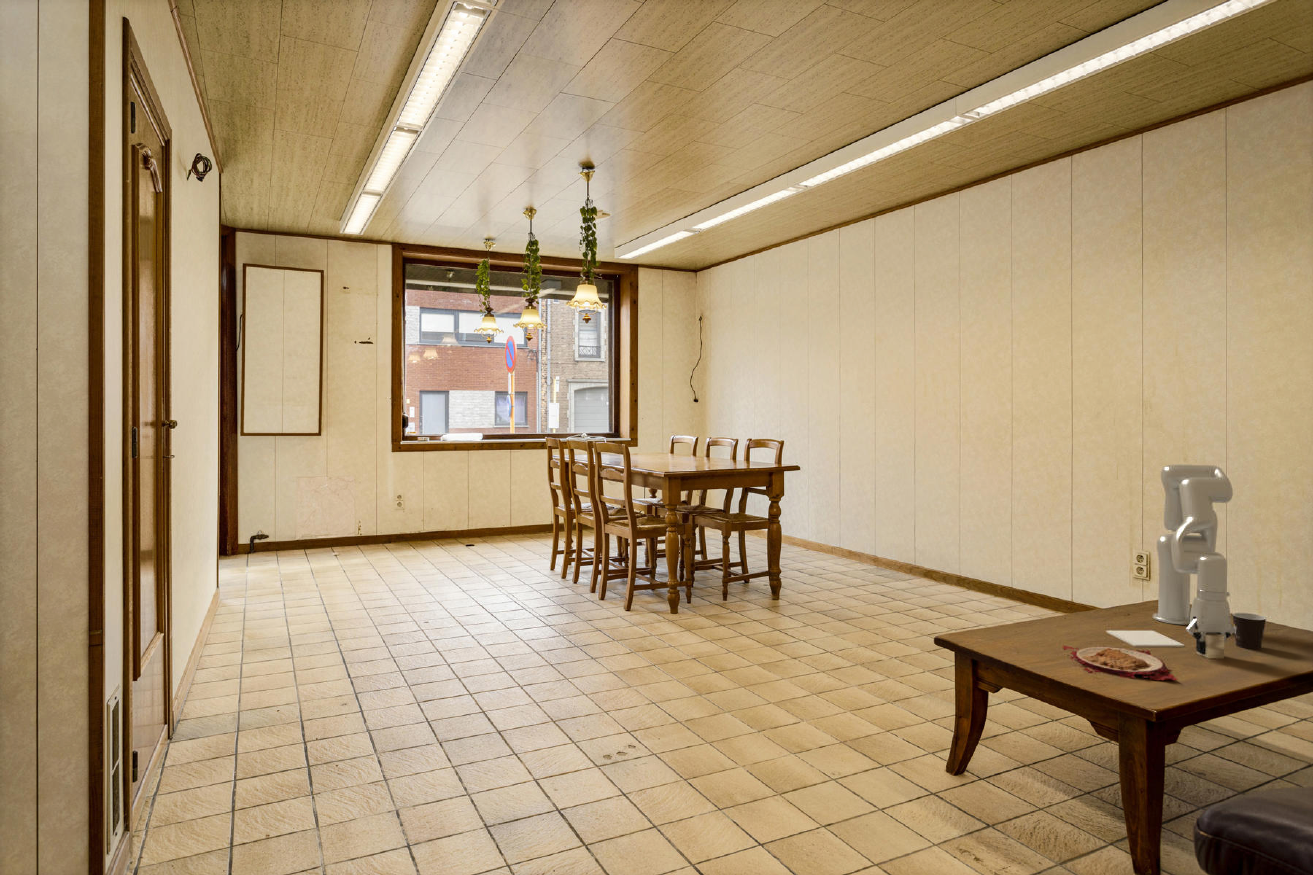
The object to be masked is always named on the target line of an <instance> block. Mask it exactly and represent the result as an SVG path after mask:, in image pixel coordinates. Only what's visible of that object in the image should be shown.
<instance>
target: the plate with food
mask: <svg viewBox="0 0 1313 875" xmlns="http://www.w3.org/2000/svg"><path fill="white" fill-rule="evenodd" d="M1062 648H1063V650H1064V651H1067V650H1071V652H1070V654H1072V656H1070V655H1069V654H1067V656H1068V657H1070V658H1071V659H1070V660H1074V658H1076V659H1075V660H1074V661H1077V662H1078V663H1079V665H1078V666H1079V667H1080V668H1083V669H1084V670H1083V671H1085V670H1086V671H1085V672H1088V673H1087V674H1094V675H1095V674H1096V675H1097V672H1101V673H1103V674H1107V675H1108V674H1110V675H1111V674H1112V675H1118V677H1121V678H1127V679H1137V677H1135V675H1142V677H1141V678H1144V679H1145V678H1149V679H1150V680H1151V681H1152V680H1153V681H1168V680H1170V681H1176V680H1178V677H1174V675H1173V674H1172V673H1171V672H1173V670H1172V669H1169V668H1167V666H1166V664H1165V663H1164V661H1163V660H1162V659H1160V658H1158V657H1157V656H1156V655H1152V654H1151V651H1150V650H1146V651H1145V650H1139V649H1136V650H1133V649H1129V648H1123V647H1122V648H1121V647H1111V646H1110V647H1109V646H1106V645H1105V646H1104V645H1103V646H1091V647H1086V648H1085V647H1084V648H1081V649H1079V648H1078V647H1072V646H1067V645H1063V646H1062ZM1080 664H1081V665H1083V664H1084V665H1083V666H1081V665H1080ZM1076 666H1077V665H1076V664H1075V665H1074V667H1076ZM1086 666H1087V667H1086ZM1088 667H1089V668H1088ZM1095 669H1096V670H1095ZM1093 670H1094V671H1093ZM1093 672H1094V673H1093ZM1106 672H1107V673H1106Z"/></svg>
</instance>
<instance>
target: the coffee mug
mask: <svg viewBox="0 0 1313 875" xmlns="http://www.w3.org/2000/svg"><path fill="white" fill-rule="evenodd" d="M1232 620H1233V627H1234V628H1235V630H1236V631H1235V632H1234V637H1235V646H1236V647H1239V648H1241V649H1246V650H1251V651H1252V650H1253V651H1254V650H1255V651H1256V650H1257V651H1258V650H1261V649H1262V644H1263V638H1264V633H1265V629H1266V628H1265V627H1266V621H1267V618H1266V617H1265V616H1263V615H1260V614H1256V613H1248V612H1233V613H1232Z"/></svg>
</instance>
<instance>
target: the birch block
mask: <svg viewBox="0 0 1313 875" xmlns="http://www.w3.org/2000/svg"><path fill="white" fill-rule="evenodd" d="M1200 635H1201V634H1200ZM1224 637H1225V636H1223V635H1221V634H1218V633H1206V636H1205V639H1204V642H1206V651H1205V654H1201V653H1199V652H1197V651H1196V654H1198V655H1200V656H1202V657H1204V658H1206V659H1225V646H1224Z"/></svg>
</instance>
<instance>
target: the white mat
mask: <svg viewBox="0 0 1313 875" xmlns="http://www.w3.org/2000/svg"><path fill="white" fill-rule="evenodd" d="M1106 633H1107V634H1109V635H1111V636H1113V637H1115V638H1117V639H1119V640H1121V641H1123V642H1125V643H1127V644H1129V645H1131V646H1132V647H1135V648H1138V647H1140V648H1141V647H1142V648H1144V647H1148V648H1149V647H1157V648H1158V647H1163V648H1164V647H1165V648H1166V647H1168V648H1169V647H1171V648H1172V647H1176V648H1177V647H1181V648H1183V647H1185V644H1183V643H1181V642H1179V641H1177V640H1174V639H1172V638H1170V637H1168V636H1166V635H1163V634H1162V633H1159V632H1157V631H1155V630H1106Z"/></svg>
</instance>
